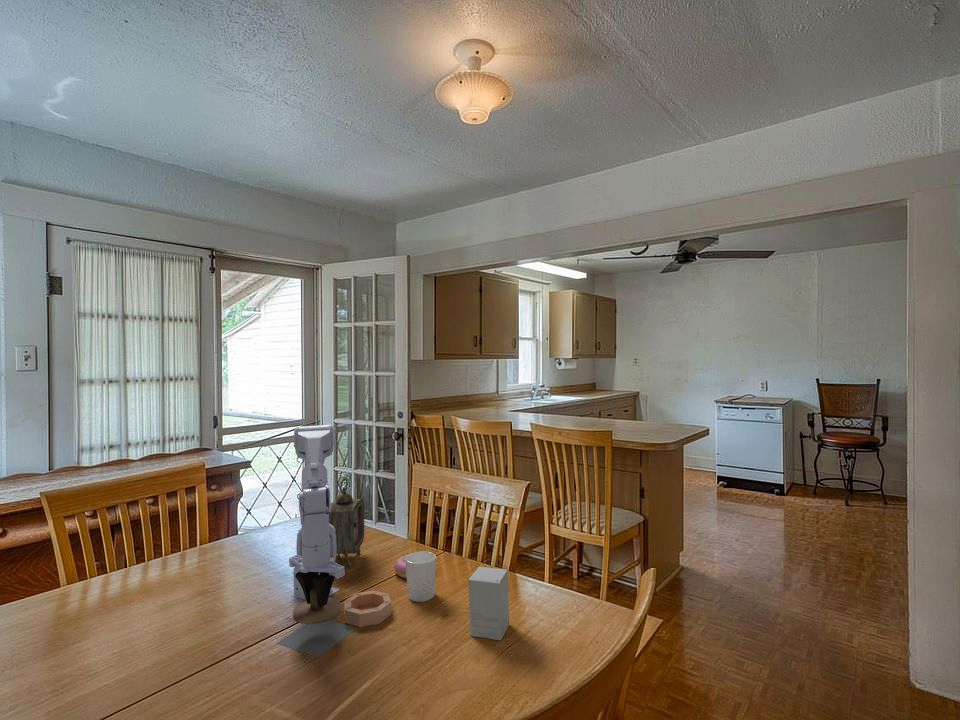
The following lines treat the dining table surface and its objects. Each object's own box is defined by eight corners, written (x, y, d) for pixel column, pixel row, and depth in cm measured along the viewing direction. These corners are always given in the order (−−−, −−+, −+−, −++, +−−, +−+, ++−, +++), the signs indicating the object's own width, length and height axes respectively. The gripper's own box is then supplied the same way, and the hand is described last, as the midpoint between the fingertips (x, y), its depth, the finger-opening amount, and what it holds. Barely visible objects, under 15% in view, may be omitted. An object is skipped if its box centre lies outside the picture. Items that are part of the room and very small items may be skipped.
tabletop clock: (352, 570, 145) (351, 484, 145) (321, 570, 145) (319, 484, 145) (365, 550, 160) (363, 472, 160) (336, 551, 160) (335, 473, 160)
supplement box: (510, 624, 115) (509, 569, 115) (501, 641, 108) (499, 583, 108) (479, 619, 117) (478, 565, 117) (468, 636, 110) (467, 579, 110)
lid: (282, 618, 108) (282, 595, 108) (316, 598, 117) (316, 576, 117) (317, 628, 104) (317, 604, 104) (350, 606, 113) (349, 584, 113)
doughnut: (440, 569, 145) (440, 555, 145) (416, 584, 136) (415, 569, 136) (411, 561, 151) (411, 547, 151) (386, 575, 142) (385, 560, 142)
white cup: (431, 604, 125) (430, 564, 124) (401, 602, 126) (400, 562, 126) (440, 589, 132) (439, 552, 132) (412, 587, 134) (411, 550, 134)
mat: (276, 645, 108) (276, 642, 108) (317, 619, 119) (317, 616, 119) (318, 660, 102) (317, 657, 102) (357, 630, 113) (357, 628, 113)
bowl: (335, 622, 117) (334, 607, 117) (364, 601, 127) (364, 587, 127) (370, 632, 112) (370, 617, 112) (399, 610, 122) (398, 596, 122)
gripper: (277, 543, 110) (279, 604, 110) (327, 554, 103) (328, 619, 104) (302, 532, 116) (303, 590, 117) (350, 542, 110) (352, 604, 110)
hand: (317, 603), depth 111 cm, fingers closed on lid, 3 cm apart
